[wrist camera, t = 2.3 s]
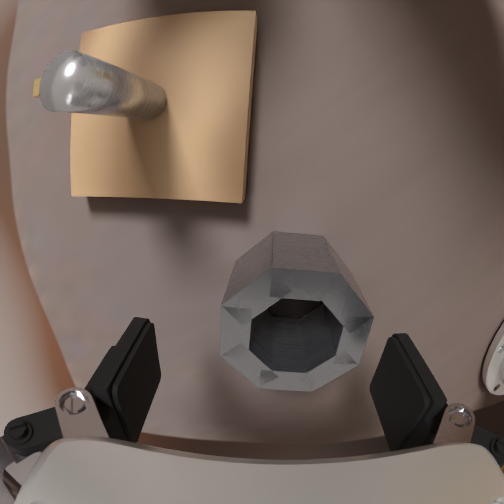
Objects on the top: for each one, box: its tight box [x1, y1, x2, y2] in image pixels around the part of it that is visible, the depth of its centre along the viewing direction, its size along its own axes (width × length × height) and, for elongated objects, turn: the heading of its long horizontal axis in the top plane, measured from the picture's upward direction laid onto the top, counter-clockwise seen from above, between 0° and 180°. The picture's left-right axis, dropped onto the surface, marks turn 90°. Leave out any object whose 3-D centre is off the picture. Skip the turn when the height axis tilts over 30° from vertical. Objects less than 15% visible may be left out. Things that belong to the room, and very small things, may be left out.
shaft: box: [33, 50, 167, 121], centre depth 10 cm, size 2×2×7 cm
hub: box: [220, 232, 374, 391], centre depth 15 cm, size 7×7×5 cm
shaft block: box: [70, 11, 258, 203], centre depth 14 cm, size 10×10×2 cm
